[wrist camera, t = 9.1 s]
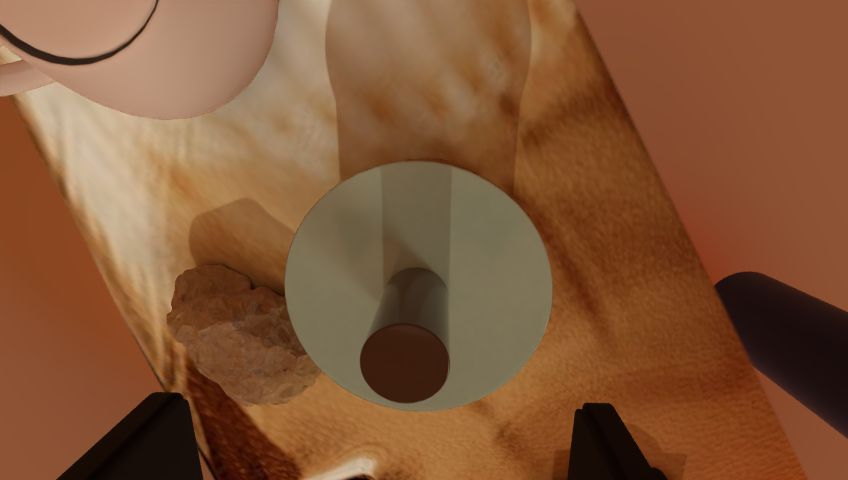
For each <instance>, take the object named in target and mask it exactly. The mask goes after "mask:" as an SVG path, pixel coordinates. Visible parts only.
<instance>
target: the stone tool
mask: <svg viewBox="0 0 848 480" xmlns="http://www.w3.org/2000/svg"><path fill="white" fill-rule="evenodd" d="M171 306H172V311H171V312H170V313H168V314H167V324H168V325H169V328H170V331H171V334H172V336H173V338H174V339H175V341H176V342H179V343H182V344H183V345H184V346H185V347H186V349H187V351H188V353H189V354H190V356H191V357H192V359H193V361H194V363H195V365H196V368H197V369H198V371H199V372H200V373H202V374H203V375H205V376H206V377H208V378H209V379H211V380H212V381H214V382H216V383H218V384H220V386H221V387H222V388H223V390H224V391H225V393H226V394H227V395H228V396H229V397H231V398H232V399H234V400H235V401H237V402H239V403H240V404H242V405H244V406H247V407H252V406H253V405H254V404H255V405H267V404H273V405H279V404H282V403H283V404H285V403H287V402H289V401H291V400H293V399H294V398H296V397H297V396H299V395H300V394H301V393H302V392H303V391H304V390H305V389H306V388H308V386H312V385H313V384H314V383H315V381H316V379H317V378H319V377H320V376H321V375H322V374H324V372H323V371H322V370H321V369H320V368H319V367H318V366H317V365H316V364H315V362H314V361H313V360H312V359H311V358H310V356H309V355H308V354H307V352H306V351H305V349H304V347H303V346H302V344H301V343H300V341H299V339H298V337H297V335H296V333H295V330H294V328H293V326H292V323H291V320H290V317H289V313H288V309H287V304H286V298H285V296H284V297H283V296H280V295H277V294H276V293H275V292H274V291H273V290H271V289H269V288H267V287H258V288H256V289H254V290H251V281H250V279H249V278H248V277H247V276H246V275H241V274H239V273H237V272H236V271H235V270H232V269H229V268H226V267H225V266H224V265H221V264H219V265H209V264H207V265H204V266H201V267H197V268H194V269H190V270H186V271H184V273H183V274H180V275H179V276H178V277H177V279H176V281H175V291H174V295H173V298H172V302H171Z"/></svg>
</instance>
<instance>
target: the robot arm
mask: <svg viewBox="0 0 848 480" xmlns="http://www.w3.org/2000/svg"><path fill="white" fill-rule="evenodd" d="M56 480H203V475H202V470H201V465H200V460H199V454H198V449H197V443H196V438H195V433H194V428H193V422H192V417H191V412H190V406H189V403H188V401H187V400H185V399H183V396H182V395H181V394H180V393H171V392H155V393H152V394H150V395H149V396H148V397H147V398H145V400H143V401H142V402H141V403H140V404H139V405H138V406H137V407H136V408H135V409H133V410H132V411H131V412H130V413H129V414H128V415H127V416H126V417H125V418H124V419H122V420H121V421H120V422H119V423H118V424H117V425H116V426H115V427H114V428H113V429H111V431H109V432H108V433H107V434H106V435H105V436H104V437H103V438H102V439H100V440H99V441H98V442H97V443H96V444H95V445H94V446H93V447H92V448H91V449H89V450H88V451H87V452H86V453H85V454H84V455H83V456H82V457H81V458H80V459H79V460H77V461H76V462H75V463H74V464H73V465H72V466H71V467H70V468H69V469H68V470H66V471H65V472H64V473H63V474H62V475H61V476H60V477H59V478H58V479H56ZM567 480H668V479H667V478H666V476H665V475H664V474H663V473H662V471H660V470H659V469H657V468H651V467H650V465H649V464H648V462H647V460H646V459H645V457H644V455H643V454H642V452H641V451H640V449H639V447H638V446H637V444H636V443H635V441H634V439H633V438H632V436H631V434H630V433H629V431H628V430H627V428H626V426H625V425H624V423H623V421H622V420H621V418H620V417H619V415H618V413H617V412H616V410H615V409H614V407H613V406H612V405H611V404H609V403H584V405H583V408H582V409H577V410H576V411H575V416H574V425H573V434H572V442H571V451H570V460H569V468H568V477H567Z"/></svg>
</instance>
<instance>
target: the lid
mask: <svg viewBox="0 0 848 480" xmlns="http://www.w3.org/2000/svg"><path fill="white" fill-rule="evenodd" d="M284 279H285V298H286V304H287V309H288V313H289V317H290V320H291V323H292V326H293V328H294V330H295V333H296V335H297V337H298V339H299V341H300V343H301V344H302V346H303V347H304V349H305V351H306V352H307V354H308V355H309V356H310V358H311V359H312V360H313V361H314V362H315V364H316V365H317V366H318V367H319V368H320V369H321V370H322V371H323V372H324V373H325V374H326V375H327V376H328V377H329V378H330V379H332V380H333V381H334V382H336V383H337V384H338V385H340V386H341V387H342V388H344V389H346V390H347V391H349V392H351V393H353V394H354V395H356V396H358V397H360V398H363V399H365V400H367V401H369V402H372V403H375V404H378V405H381V406H385V407H389V408H394V409H399V410H407V411H438V410H445V409H451V408H455V407H459V406H463V405H466V404H469V403H471V402H474V401H476V400H479V399H481V398H483V397H485V396H487V395H489V394H491V393H492V392H494V391H496V390H497V389H499V388H500V387H501V386H503V385H504V384H506V383H507V382H508V381H509V380H510V379H512V378H513V377H514V376H515V375H516V374H517V373H518V372H519V371H520V370H521V369H522V368H523V367H524V365H525V364H526V363H527V362H528V361H529V359H530V358H531V356H532V355H533V353H534V352H535V350H536V349H537V347H538V345H539V343H540V341H541V339H542V337H543V335H544V332H545V330H546V327H547V323H548V320H549V317H550V312H551V305H552V296H553V281H552V273H551V266H550V262H549V259H548V255H547V251H546V248H545V246H544V244H543V242H542V239H541V237H540V235H539V233H538V231H537V229H536V228H535V226H534V225H533V223H532V221H531V220H530V218H529V217H528V216H527V215H526V213H525V212H524V211H523V210H522V209H521V207H520V206H519V205H518V204H517V203H516V202H515V201H514V200H513V199H512V198H511V197H510V196H509V195H507V194H506V193H505V192H504V191H503V190H502V189H500V188H499V187H497V186H496V185H495V184H493V183H492V182H490V181H489V180H487V179H485V178H483V177H481V176H479V175H477V174H475V173H473V172H471V171H469V170H466V169H463V168H460V167H457V166H454V165H450V164H445V163H440V162H435V161H422V160H410V161H397V162H392V163H387V164H382V165H378V166H375V167H372V168H369V169H366V170H364V171H361V172H359V173H357V174H355V175H353V176H351V177H349V178H347V179H345V180H344V181H342V182H341V183H339V184H338V185H336V186H335V187H334V188H332V189H331V190H329V191H328V192H327V193H326V194H325V195H324V196H323V197H322V198H321V199H320V200H319V201H317V202H316V204H315V205H314V206H313V207H312V209H311V210H310V211H309V212H308V214H307V215H306V216H305V218H304V219H303V221H302V223H301V224H300V226H299V228H298V229H297V231H296V234H295V236H294V238H293V241H292V243H291V246H290V249H289V253H288V257H287V261H286V269H285V278H284Z"/></svg>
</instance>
